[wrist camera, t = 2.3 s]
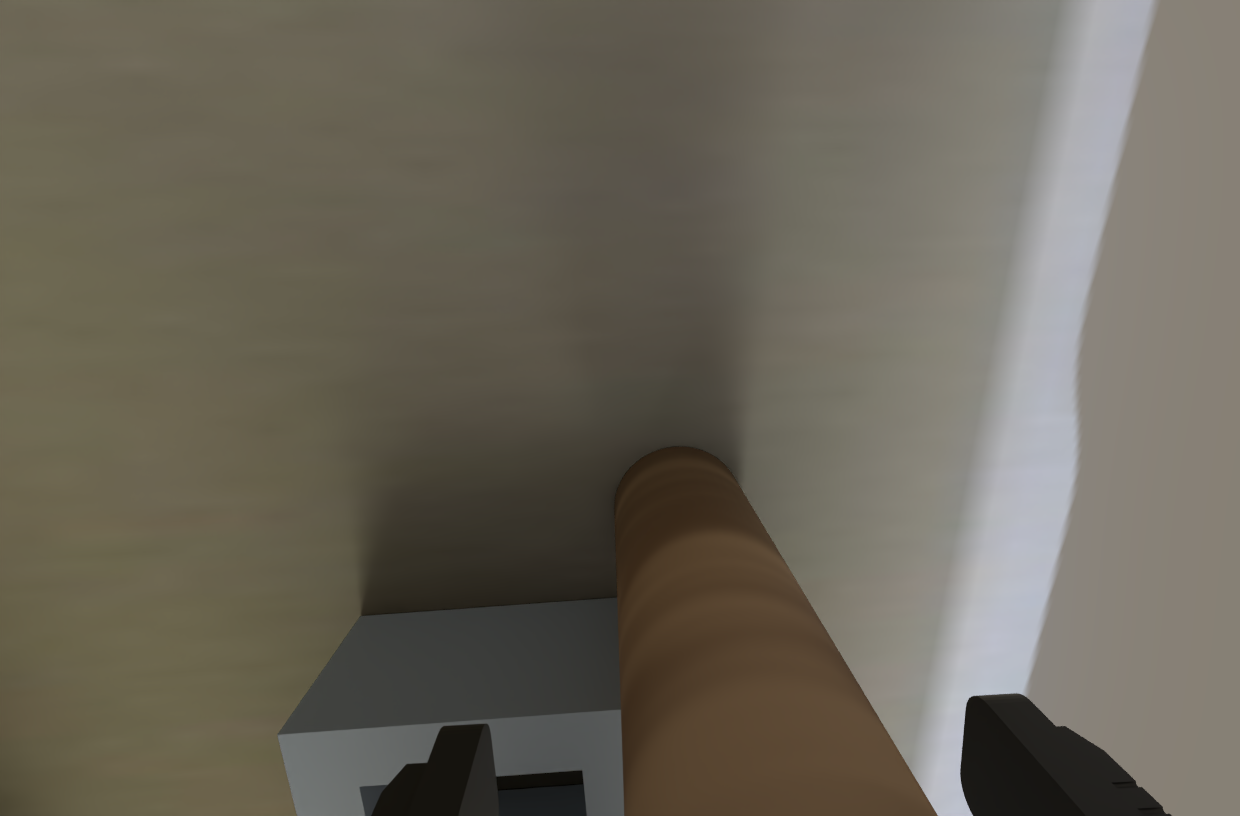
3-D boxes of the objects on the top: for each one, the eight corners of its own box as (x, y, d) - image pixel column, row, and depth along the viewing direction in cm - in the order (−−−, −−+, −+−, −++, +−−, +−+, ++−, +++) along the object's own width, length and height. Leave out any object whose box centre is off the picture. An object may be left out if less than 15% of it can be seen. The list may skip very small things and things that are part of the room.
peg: (609, 451, 18) (615, 788, 6) (739, 441, 18) (979, 760, 6) (618, 569, 19) (638, 1047, 7) (741, 560, 19) (955, 1023, 7)
